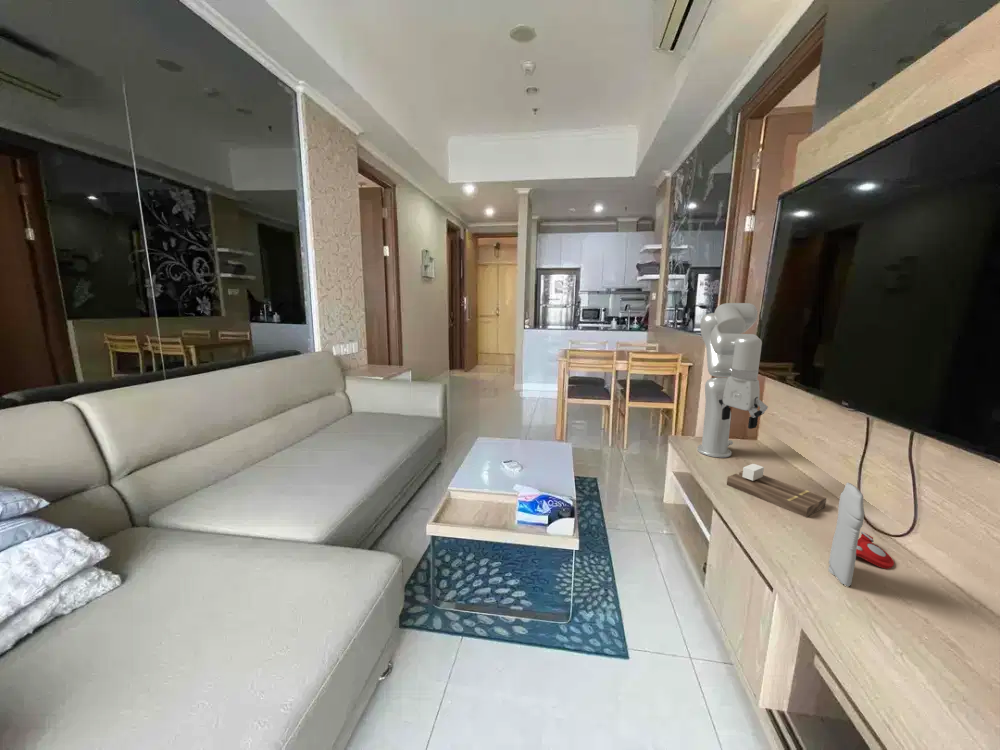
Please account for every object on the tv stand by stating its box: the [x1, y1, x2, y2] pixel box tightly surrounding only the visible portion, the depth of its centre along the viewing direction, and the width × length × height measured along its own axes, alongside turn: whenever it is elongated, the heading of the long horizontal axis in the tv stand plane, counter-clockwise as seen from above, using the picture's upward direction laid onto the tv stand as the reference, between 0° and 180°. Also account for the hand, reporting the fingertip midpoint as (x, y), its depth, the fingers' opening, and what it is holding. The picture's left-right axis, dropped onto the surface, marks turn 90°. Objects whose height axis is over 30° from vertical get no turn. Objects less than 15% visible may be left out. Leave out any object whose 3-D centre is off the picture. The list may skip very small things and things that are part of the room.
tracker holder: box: [856, 530, 895, 570], centre depth 102 cm, size 12×4×10 cm
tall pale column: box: [828, 482, 865, 587], centre depth 93 cm, size 11×4×22 cm, turn 157°
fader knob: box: [742, 463, 765, 481], centre depth 137 cm, size 6×4×5 cm, turn 120°
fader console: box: [726, 470, 827, 518], centre depth 132 cm, size 12×24×3 cm, turn 30°
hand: (738, 423), depth 137 cm, fingers open, 9 cm apart
